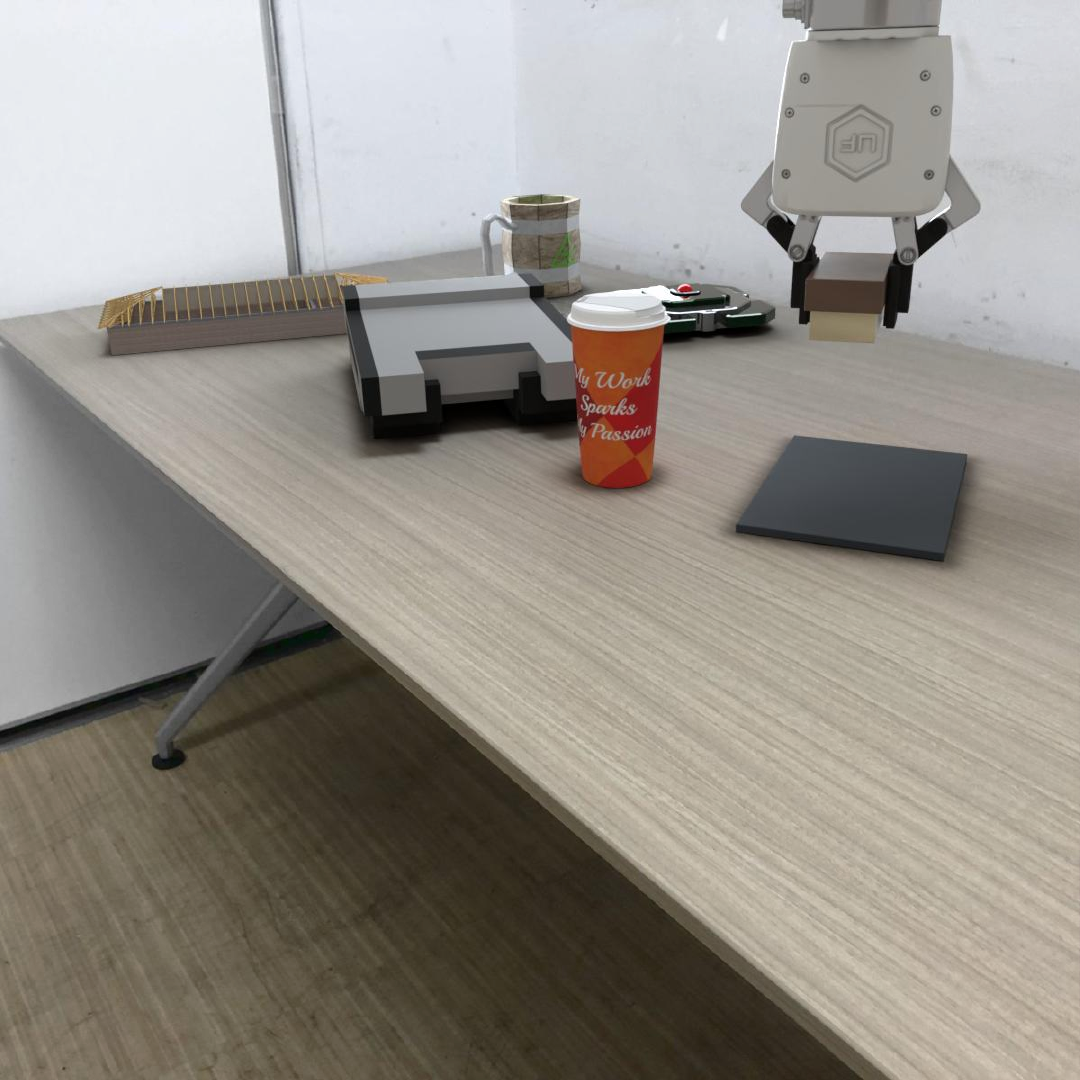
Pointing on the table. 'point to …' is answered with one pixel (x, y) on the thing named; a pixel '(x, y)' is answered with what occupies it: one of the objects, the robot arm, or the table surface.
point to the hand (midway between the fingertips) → (848, 318)
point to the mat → (859, 497)
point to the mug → (538, 240)
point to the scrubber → (847, 296)
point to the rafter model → (228, 313)
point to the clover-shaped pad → (708, 307)
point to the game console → (458, 350)
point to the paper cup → (617, 384)
